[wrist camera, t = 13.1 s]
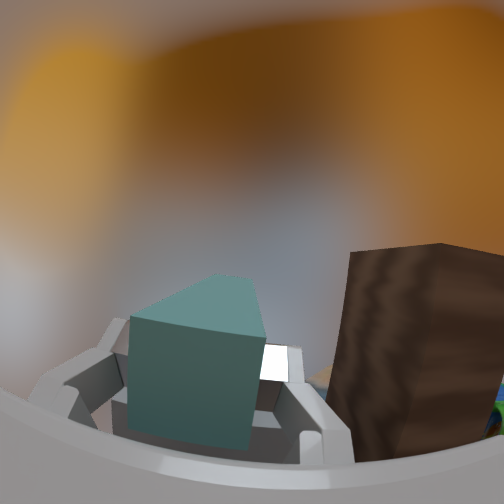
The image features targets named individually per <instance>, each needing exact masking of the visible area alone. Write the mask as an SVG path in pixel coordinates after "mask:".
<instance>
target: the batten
mask: <svg viewBox="0 0 504 504" xmlns="http://www.w3.org/2000/svg"><path fill="white" fill-rule="evenodd" d="M265 344H266V334H265V330H264V326H263V322H262V318H261V314H260V310H259V305H258V301H257V297H256V293H255V289H254V285H253V281H252V279H248V278H240V277H233V276H226V275H219V274H214V275H212V276H210V277H208V278H206V279H204V280H202V281H200V282H198V283H196V284H194V285H192V286H190V287H188V288H186V289H184V290H182V291H180V292H178V293H176V294H174V295H172V296H170V297H167V298H165V299H163V300H161V301H159V302H157V303H155V304H153V305H151V306H149V307H147V308H145V309H143V310H141V311H139V312H137V313H135V314H133V315H131V316H130V327H129V344H128V371H127V421H128V429H132V430H135V431H139V432H143V433H147V434H151V435H155V436H160V437H164V438H169V439H173V440H178V441H183V442H189V443H194V444H200V445H206V446H213V447H220V448H227V449H236V450H245V451H248V446H249V441H250V435H251V429H252V423H253V418H254V412H255V406H256V400H257V394H258V388H259V382H260V375H261V369H262V363H263V356H264V350H265Z"/></svg>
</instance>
